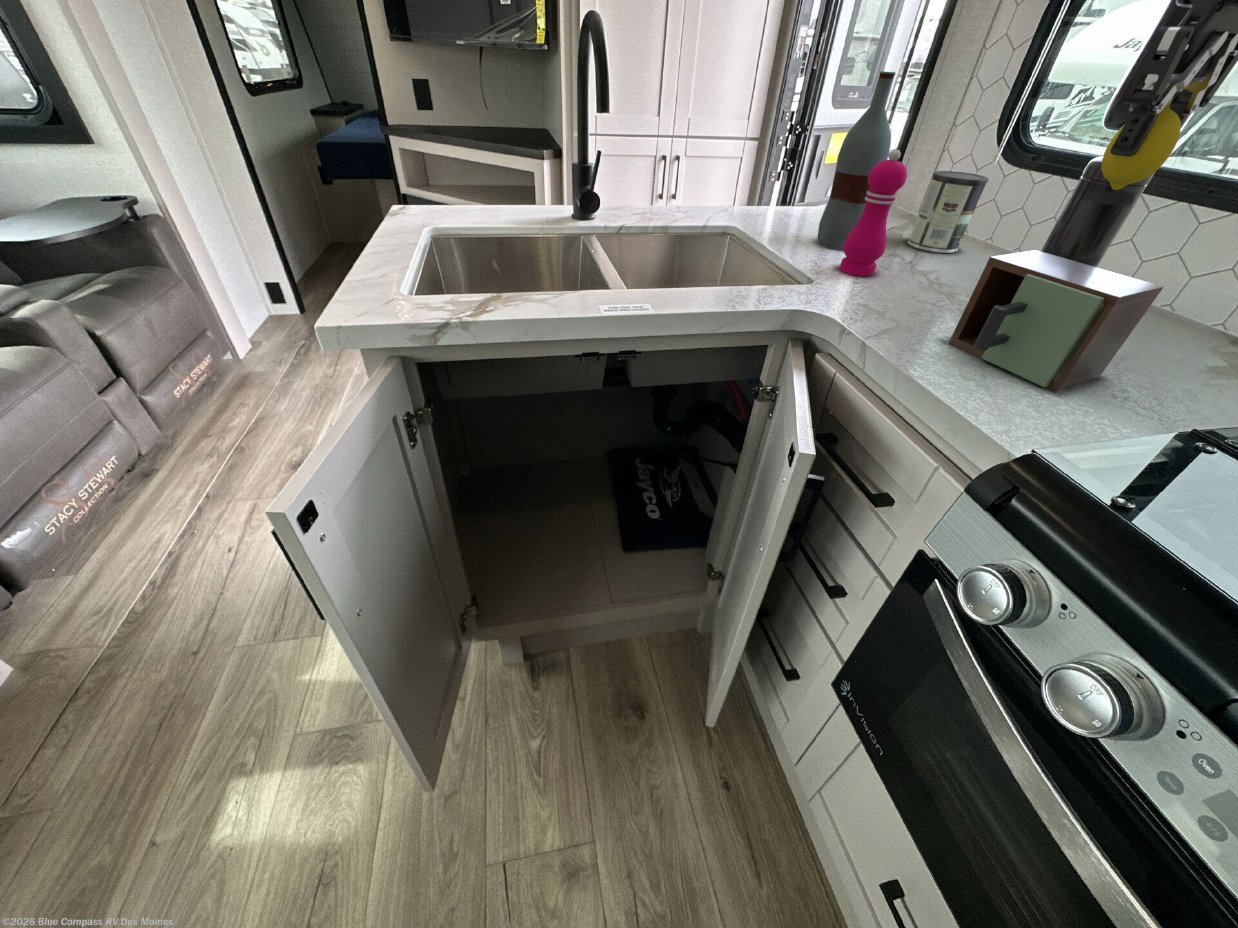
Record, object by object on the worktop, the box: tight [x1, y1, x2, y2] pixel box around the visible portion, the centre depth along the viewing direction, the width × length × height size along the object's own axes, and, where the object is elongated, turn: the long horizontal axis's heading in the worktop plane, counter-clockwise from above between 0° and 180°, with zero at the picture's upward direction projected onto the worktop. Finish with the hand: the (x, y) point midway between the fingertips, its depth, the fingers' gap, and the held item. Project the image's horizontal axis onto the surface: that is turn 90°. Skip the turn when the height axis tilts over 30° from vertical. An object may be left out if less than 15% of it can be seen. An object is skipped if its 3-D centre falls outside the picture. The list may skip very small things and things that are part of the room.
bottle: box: [817, 70, 897, 251], centre depth 102 cm, size 9×9×30 cm
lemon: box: [1101, 104, 1182, 190], centre depth 55 cm, size 6×6×8 cm
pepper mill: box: [839, 148, 908, 277], centre depth 91 cm, size 7×7×20 cm
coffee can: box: [907, 170, 990, 254], centre depth 110 cm, size 10×10×14 cm
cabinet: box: [948, 249, 1164, 393], centre depth 67 cm, size 10×15×12 cm, turn 27°
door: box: [974, 274, 1105, 388], centre depth 62 cm, size 6×8×11 cm
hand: (1136, 154), depth 56 cm, fingers closed on lemon, 5 cm apart
